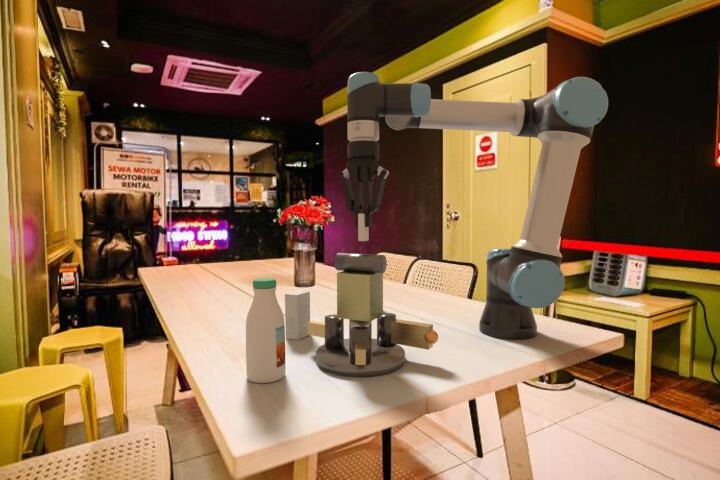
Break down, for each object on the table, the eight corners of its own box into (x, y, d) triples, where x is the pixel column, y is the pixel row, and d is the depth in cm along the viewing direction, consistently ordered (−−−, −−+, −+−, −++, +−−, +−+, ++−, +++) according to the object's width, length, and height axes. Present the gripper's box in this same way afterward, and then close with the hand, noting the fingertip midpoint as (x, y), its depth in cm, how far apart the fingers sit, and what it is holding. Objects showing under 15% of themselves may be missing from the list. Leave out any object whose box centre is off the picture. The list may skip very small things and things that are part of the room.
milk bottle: (266, 387, 81) (264, 283, 79) (238, 379, 85) (236, 280, 83) (293, 374, 87) (292, 278, 86) (266, 367, 91) (264, 275, 90)
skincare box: (297, 332, 117) (297, 289, 117) (310, 334, 115) (310, 291, 115) (284, 338, 112) (284, 293, 111) (298, 340, 110) (297, 295, 109)
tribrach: (417, 353, 100) (417, 251, 99) (378, 389, 79) (378, 262, 78) (328, 339, 111) (328, 248, 109) (274, 369, 90) (272, 256, 88)
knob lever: (373, 345, 98) (373, 315, 98) (382, 340, 102) (382, 311, 101) (433, 356, 90) (434, 324, 90) (441, 351, 94) (441, 320, 94)
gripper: (331, 141, 100) (332, 240, 102) (382, 137, 94) (382, 242, 96) (346, 145, 107) (346, 239, 108) (394, 142, 101) (394, 240, 103)
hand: (363, 240), depth 102 cm, fingers closed
